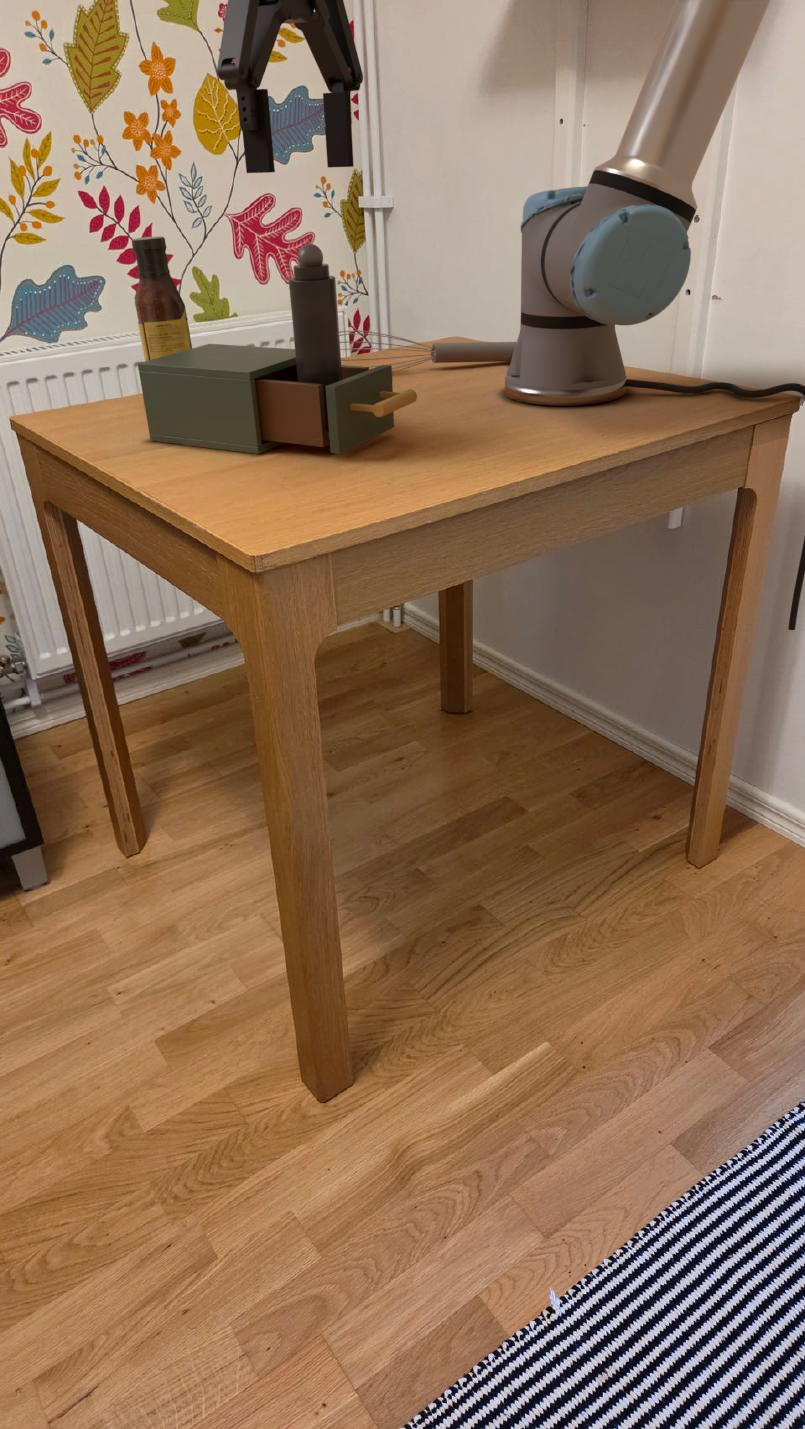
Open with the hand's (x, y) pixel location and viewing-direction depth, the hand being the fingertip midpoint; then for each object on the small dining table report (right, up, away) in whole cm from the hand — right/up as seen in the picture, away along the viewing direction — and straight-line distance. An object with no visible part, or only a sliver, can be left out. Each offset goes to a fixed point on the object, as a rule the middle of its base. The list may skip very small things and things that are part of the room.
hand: (302, 170), depth 97 cm
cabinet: (-10, -21, +19) cm, 29 cm away
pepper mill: (+1, -21, +12) cm, 25 cm away
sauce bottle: (-20, -12, +34) cm, 42 cm away
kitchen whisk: (+14, -3, +47) cm, 49 cm away
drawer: (+2, -23, +13) cm, 26 cm away
